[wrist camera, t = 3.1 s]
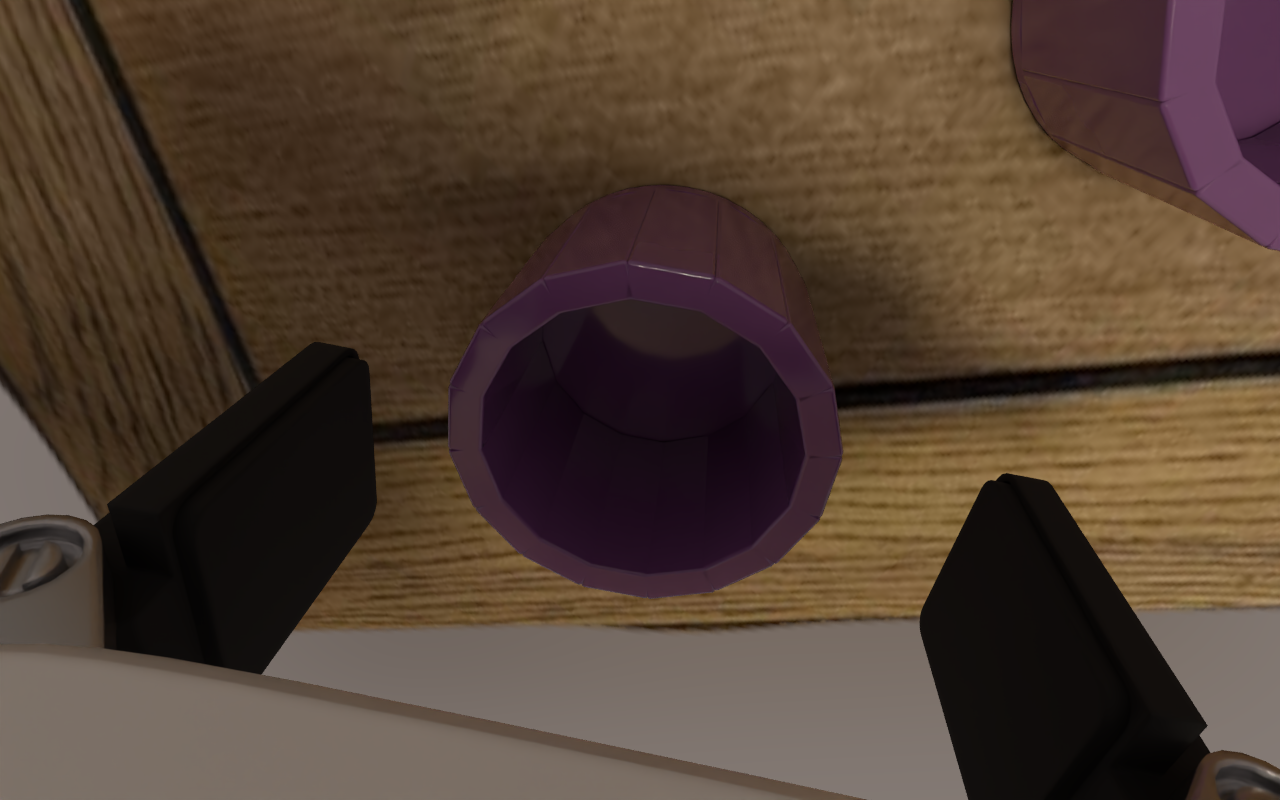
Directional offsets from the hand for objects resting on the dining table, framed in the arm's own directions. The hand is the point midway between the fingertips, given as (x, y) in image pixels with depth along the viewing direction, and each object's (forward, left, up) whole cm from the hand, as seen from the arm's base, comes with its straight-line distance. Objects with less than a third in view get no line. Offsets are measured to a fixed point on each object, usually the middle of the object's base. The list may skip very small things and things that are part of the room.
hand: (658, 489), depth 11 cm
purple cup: (0, 0, -6) cm, 6 cm away
